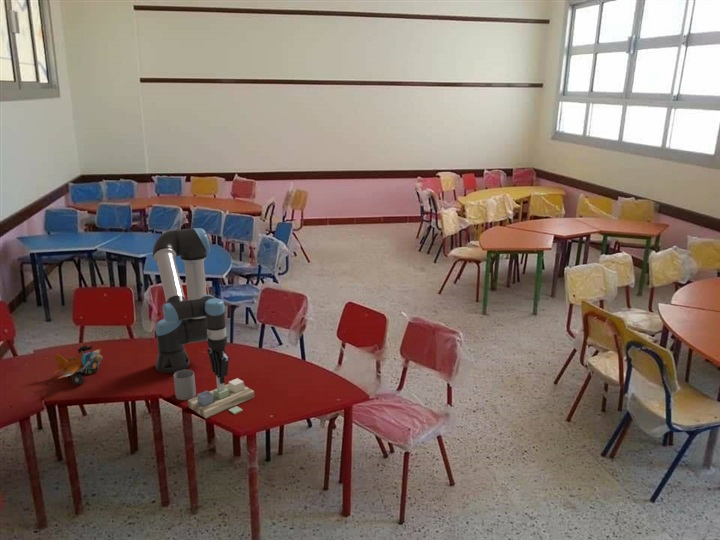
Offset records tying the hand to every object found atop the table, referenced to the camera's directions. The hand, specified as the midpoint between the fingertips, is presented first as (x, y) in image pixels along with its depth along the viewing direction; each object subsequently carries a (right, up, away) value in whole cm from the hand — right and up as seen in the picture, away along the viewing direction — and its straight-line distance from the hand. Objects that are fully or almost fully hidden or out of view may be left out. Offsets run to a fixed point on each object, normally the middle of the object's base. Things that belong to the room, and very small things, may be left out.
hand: (221, 389), depth 240 cm
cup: (-17, -4, +7) cm, 19 cm away
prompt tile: (+7, -8, -5) cm, 11 cm away
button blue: (-5, -5, -4) cm, 8 cm away
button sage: (0, -5, +2) cm, 5 cm away
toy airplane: (-69, 0, +22) cm, 72 cm away
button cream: (+5, -2, +6) cm, 9 cm away
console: (0, -6, +2) cm, 6 cm away
